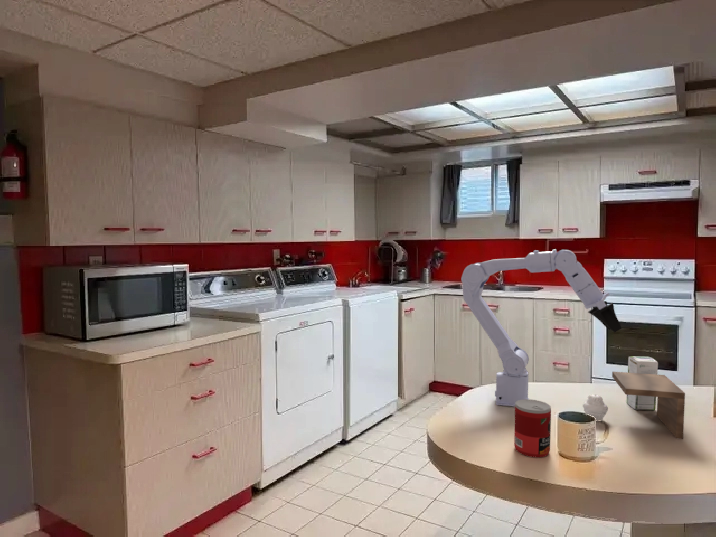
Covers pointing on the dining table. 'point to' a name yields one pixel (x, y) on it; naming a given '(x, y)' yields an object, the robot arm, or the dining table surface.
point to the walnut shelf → (663, 389)
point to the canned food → (532, 428)
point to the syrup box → (645, 367)
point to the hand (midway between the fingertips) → (615, 329)
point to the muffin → (595, 407)
